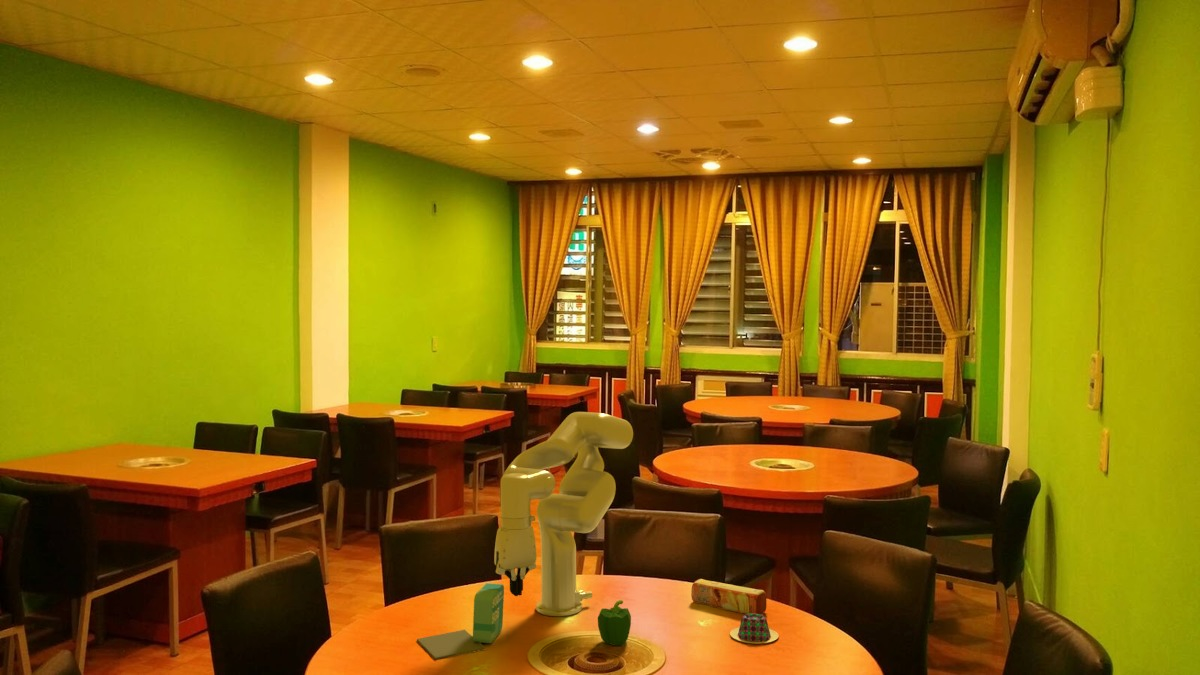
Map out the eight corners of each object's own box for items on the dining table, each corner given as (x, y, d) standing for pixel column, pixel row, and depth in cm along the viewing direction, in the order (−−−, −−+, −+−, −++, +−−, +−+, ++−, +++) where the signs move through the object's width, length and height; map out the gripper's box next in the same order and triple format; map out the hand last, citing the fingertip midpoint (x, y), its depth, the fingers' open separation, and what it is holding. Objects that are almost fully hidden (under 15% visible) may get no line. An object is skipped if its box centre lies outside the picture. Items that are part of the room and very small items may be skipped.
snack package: (689, 603, 249) (689, 579, 249) (702, 597, 254) (702, 574, 254) (756, 620, 236) (756, 594, 235) (768, 613, 241) (768, 588, 240)
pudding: (779, 630, 228) (779, 610, 228) (778, 648, 216) (777, 626, 216) (731, 627, 230) (731, 607, 230) (728, 644, 219) (728, 623, 219)
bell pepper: (608, 651, 214) (608, 609, 214) (592, 640, 222) (592, 600, 221) (638, 644, 218) (638, 604, 218) (622, 634, 225) (622, 594, 225)
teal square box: (490, 645, 217) (492, 596, 217) (472, 643, 218) (474, 594, 218) (502, 629, 229) (504, 583, 229) (485, 628, 230) (487, 581, 230)
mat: (464, 631, 228) (464, 629, 228) (485, 649, 216) (485, 647, 216) (417, 640, 222) (417, 638, 222) (435, 659, 210) (435, 657, 210)
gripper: (536, 516, 234) (536, 586, 234) (482, 523, 226) (483, 595, 227) (548, 522, 227) (549, 593, 228) (494, 529, 220) (494, 603, 220)
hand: (516, 594), depth 227 cm, fingers closed
